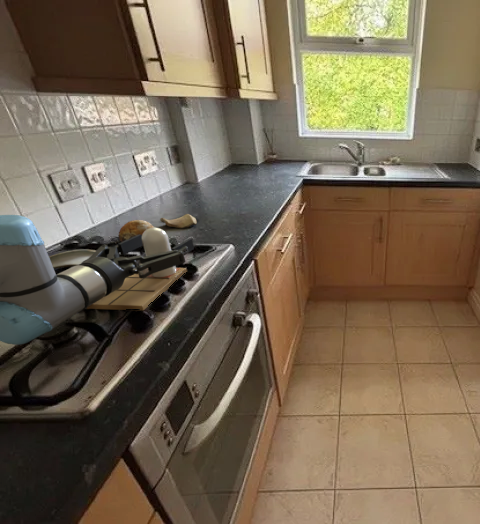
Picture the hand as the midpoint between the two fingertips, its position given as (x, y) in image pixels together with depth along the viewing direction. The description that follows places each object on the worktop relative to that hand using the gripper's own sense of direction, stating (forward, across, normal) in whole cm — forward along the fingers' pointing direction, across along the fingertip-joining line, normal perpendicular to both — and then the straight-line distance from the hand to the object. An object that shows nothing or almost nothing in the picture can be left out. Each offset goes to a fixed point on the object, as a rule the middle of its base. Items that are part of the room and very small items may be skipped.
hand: (166, 241), depth 83 cm
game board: (-10, -5, -8) cm, 14 cm away
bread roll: (+18, -25, -9) cm, 32 cm away
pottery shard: (+33, -22, -9) cm, 41 cm away
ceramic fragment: (-2, -28, -9) cm, 30 cm away
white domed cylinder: (-3, 0, -7) cm, 8 cm away
